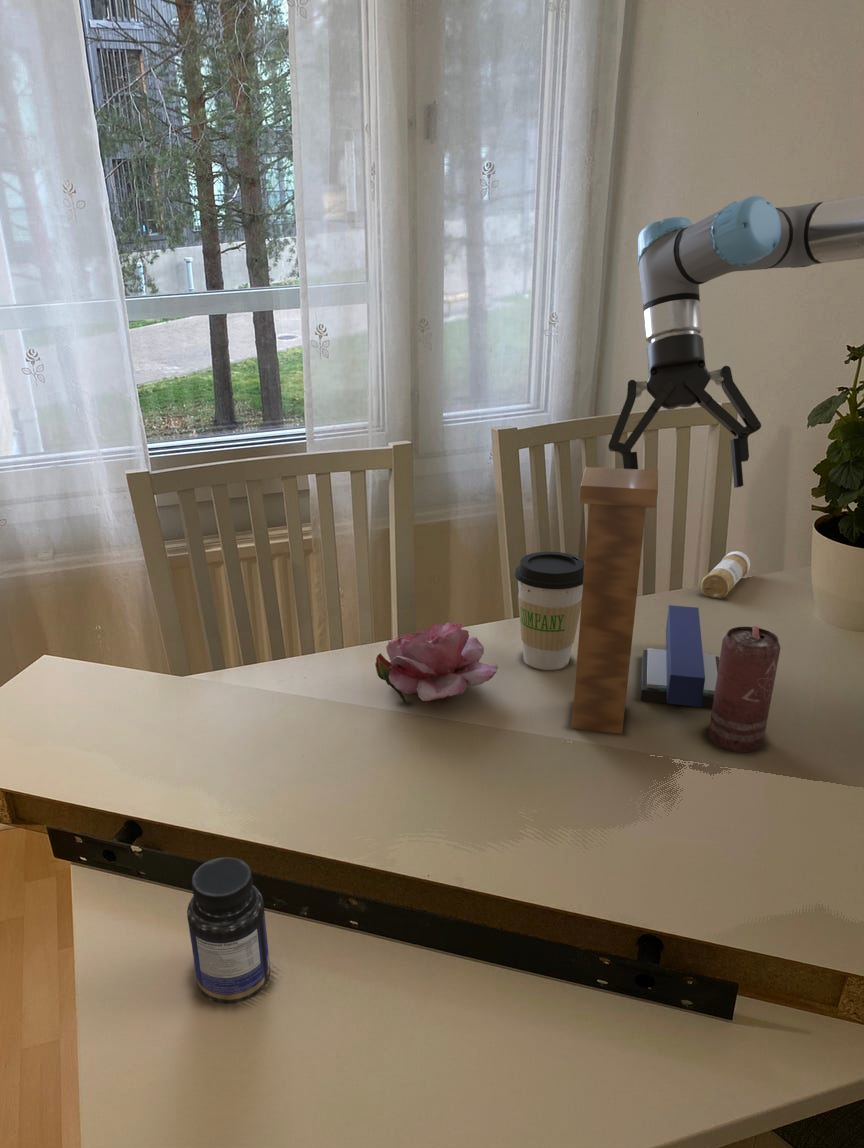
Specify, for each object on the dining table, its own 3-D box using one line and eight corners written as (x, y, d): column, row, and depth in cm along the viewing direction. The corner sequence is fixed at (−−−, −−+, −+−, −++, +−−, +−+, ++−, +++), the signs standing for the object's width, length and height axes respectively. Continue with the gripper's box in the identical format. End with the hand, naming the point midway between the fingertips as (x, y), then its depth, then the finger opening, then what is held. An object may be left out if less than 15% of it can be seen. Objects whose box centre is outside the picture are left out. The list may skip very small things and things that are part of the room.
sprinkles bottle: (715, 605, 147) (737, 581, 157) (735, 587, 144) (756, 564, 154) (694, 585, 148) (717, 563, 158) (713, 567, 145) (736, 545, 155)
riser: (631, 709, 116) (658, 470, 102) (630, 742, 109) (658, 489, 96) (568, 702, 118) (585, 466, 104) (562, 734, 111) (580, 485, 98)
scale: (716, 669, 125) (719, 652, 124) (722, 712, 115) (725, 693, 114) (641, 662, 128) (643, 645, 127) (640, 703, 117) (642, 685, 116)
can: (759, 731, 110) (778, 626, 104) (764, 758, 105) (784, 649, 99) (706, 725, 112) (722, 621, 106) (708, 752, 106) (725, 644, 100)
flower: (522, 675, 119) (501, 605, 116) (446, 730, 110) (422, 656, 107) (443, 668, 130) (422, 605, 127) (370, 718, 122) (346, 651, 119)
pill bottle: (215, 947, 80) (202, 845, 75) (281, 958, 78) (271, 855, 74) (185, 1001, 74) (168, 895, 70) (255, 1014, 73) (243, 907, 68)
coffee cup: (498, 654, 131) (502, 555, 125) (558, 642, 134) (565, 546, 128) (532, 683, 123) (538, 580, 116) (595, 670, 126) (604, 569, 119)
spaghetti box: (694, 633, 130) (698, 607, 128) (701, 707, 111) (705, 678, 109) (665, 630, 131) (668, 604, 129) (666, 703, 112) (670, 674, 110)
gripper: (764, 331, 127) (776, 483, 128) (582, 359, 132) (596, 505, 134) (775, 317, 120) (788, 479, 121) (582, 347, 125) (597, 502, 127)
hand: (687, 493), depth 127 cm, fingers open, 13 cm apart
